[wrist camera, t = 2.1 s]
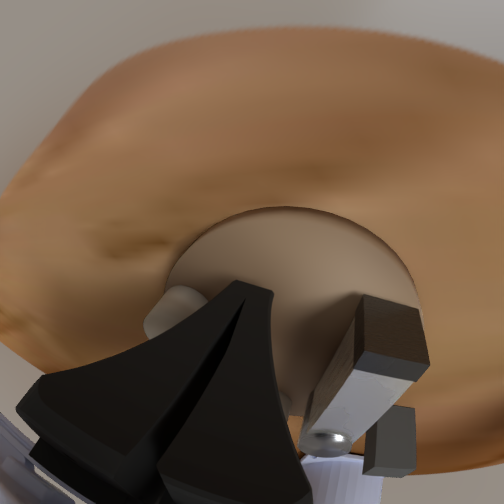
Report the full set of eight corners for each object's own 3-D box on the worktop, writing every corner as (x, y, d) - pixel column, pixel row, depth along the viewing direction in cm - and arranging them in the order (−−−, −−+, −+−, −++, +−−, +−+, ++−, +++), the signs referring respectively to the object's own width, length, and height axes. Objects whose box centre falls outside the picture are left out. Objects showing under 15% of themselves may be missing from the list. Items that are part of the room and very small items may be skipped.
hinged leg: (344, 413, 13) (338, 460, 10) (302, 404, 13) (291, 451, 11) (419, 308, 9) (432, 369, 7) (362, 293, 9) (362, 354, 7)
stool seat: (357, 414, 15) (353, 458, 12) (177, 361, 16) (154, 400, 14) (465, 256, 9) (493, 307, 6) (179, 175, 11) (131, 204, 8)
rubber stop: (402, 419, 14) (401, 477, 11) (367, 414, 15) (361, 474, 11) (414, 408, 14) (416, 469, 10) (378, 402, 14) (374, 466, 11)
